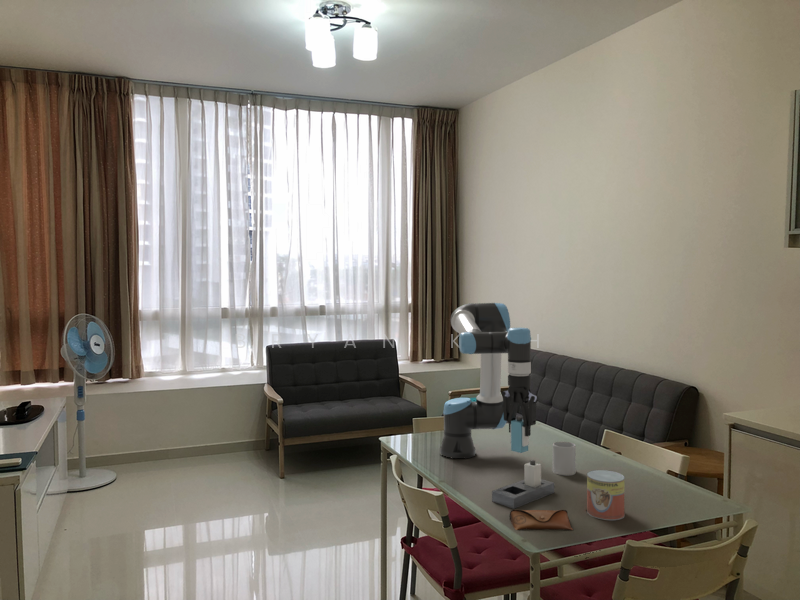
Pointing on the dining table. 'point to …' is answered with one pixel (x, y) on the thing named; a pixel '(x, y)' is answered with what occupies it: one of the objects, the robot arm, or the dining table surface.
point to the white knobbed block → (532, 474)
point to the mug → (564, 458)
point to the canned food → (605, 494)
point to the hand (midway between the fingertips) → (519, 443)
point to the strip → (521, 493)
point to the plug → (517, 436)
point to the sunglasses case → (540, 520)
